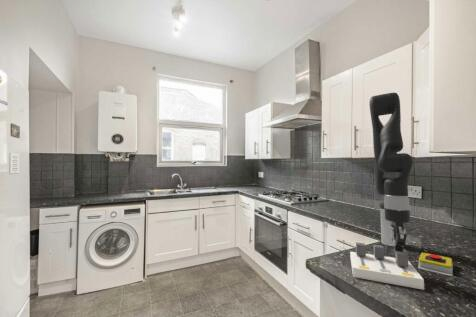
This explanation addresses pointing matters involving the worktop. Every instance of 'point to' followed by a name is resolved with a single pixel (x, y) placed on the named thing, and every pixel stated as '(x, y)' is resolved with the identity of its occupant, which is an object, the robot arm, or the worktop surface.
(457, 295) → the worktop surface
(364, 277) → the switch panel
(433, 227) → the worktop surface
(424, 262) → the emergency button
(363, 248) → the switch
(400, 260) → the switch
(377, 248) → the switch
